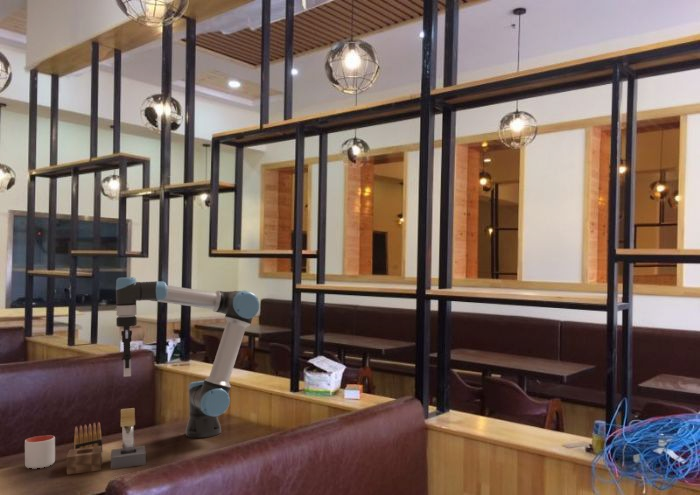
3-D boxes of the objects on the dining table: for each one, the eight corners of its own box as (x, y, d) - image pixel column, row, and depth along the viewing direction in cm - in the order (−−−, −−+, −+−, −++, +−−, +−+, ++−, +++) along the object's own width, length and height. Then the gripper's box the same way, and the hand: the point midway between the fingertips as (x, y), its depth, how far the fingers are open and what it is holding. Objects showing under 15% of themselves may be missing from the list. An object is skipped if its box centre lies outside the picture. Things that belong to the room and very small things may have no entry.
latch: (134, 419, 233) (134, 407, 233) (135, 425, 223) (134, 412, 224) (120, 421, 231) (120, 409, 231) (120, 426, 222) (120, 414, 222)
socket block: (144, 456, 234) (144, 418, 235) (145, 464, 223) (145, 425, 224) (111, 460, 230) (111, 422, 231) (110, 469, 219) (110, 429, 220)
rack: (101, 461, 228) (101, 445, 229) (100, 470, 218) (100, 453, 218) (69, 465, 225) (69, 449, 225) (66, 474, 214) (66, 457, 215)
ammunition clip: (75, 458, 235) (74, 426, 235) (73, 457, 236) (72, 426, 237) (102, 452, 242) (102, 421, 243) (100, 451, 244) (100, 421, 244)
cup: (34, 471, 219) (34, 443, 220) (19, 467, 225) (19, 440, 225) (60, 463, 228) (60, 437, 228) (45, 460, 233) (45, 434, 234)
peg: (134, 460, 229) (133, 422, 230) (134, 463, 225) (133, 425, 226) (122, 461, 228) (122, 424, 228) (122, 464, 224) (122, 426, 225)
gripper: (116, 315, 248) (117, 373, 246) (115, 317, 231) (116, 379, 230) (136, 314, 250) (137, 371, 249) (136, 316, 234) (137, 377, 232)
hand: (127, 375), depth 239 cm, fingers open, 4 cm apart
